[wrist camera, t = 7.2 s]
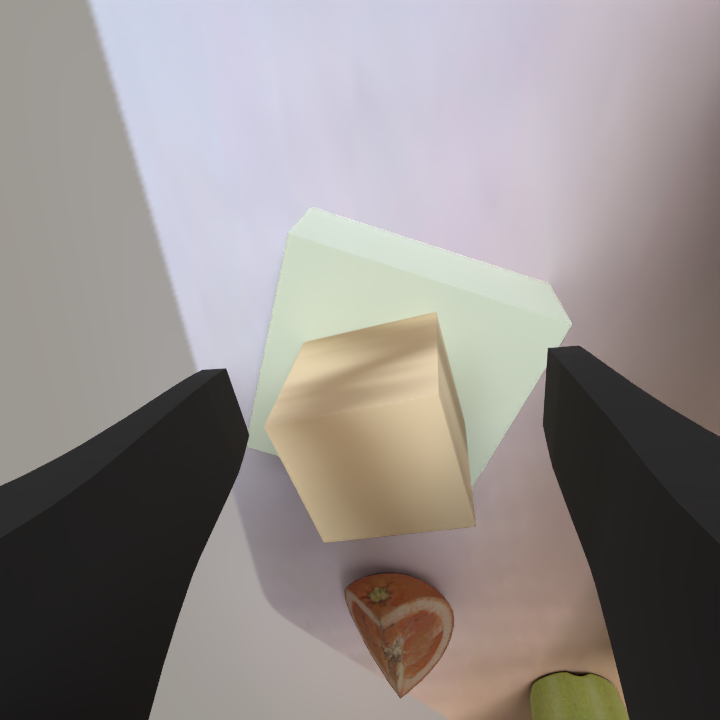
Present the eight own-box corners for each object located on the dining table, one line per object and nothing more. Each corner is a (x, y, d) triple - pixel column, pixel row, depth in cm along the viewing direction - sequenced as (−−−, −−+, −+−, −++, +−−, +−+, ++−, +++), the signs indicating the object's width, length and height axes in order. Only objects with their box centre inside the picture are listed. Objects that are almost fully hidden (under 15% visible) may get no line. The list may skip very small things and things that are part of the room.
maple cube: (436, 311, 16) (438, 394, 12) (465, 423, 18) (475, 526, 14) (304, 342, 18) (263, 427, 13) (346, 443, 20) (323, 542, 16)
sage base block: (547, 279, 19) (572, 324, 16) (454, 449, 25) (458, 510, 21) (313, 203, 19) (288, 233, 15) (270, 393, 24) (245, 446, 21)
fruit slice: (337, 540, 29) (321, 619, 25) (447, 539, 28) (450, 622, 24) (359, 617, 33) (349, 697, 29) (456, 620, 32) (460, 704, 28)
